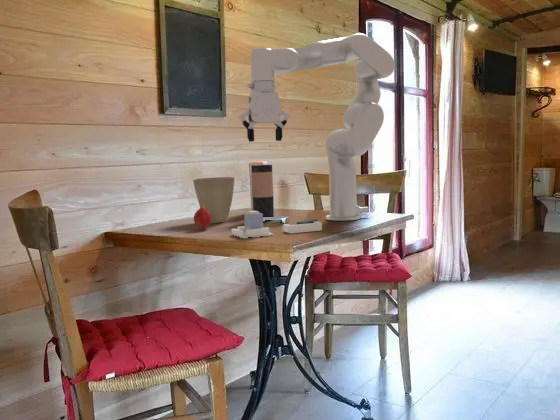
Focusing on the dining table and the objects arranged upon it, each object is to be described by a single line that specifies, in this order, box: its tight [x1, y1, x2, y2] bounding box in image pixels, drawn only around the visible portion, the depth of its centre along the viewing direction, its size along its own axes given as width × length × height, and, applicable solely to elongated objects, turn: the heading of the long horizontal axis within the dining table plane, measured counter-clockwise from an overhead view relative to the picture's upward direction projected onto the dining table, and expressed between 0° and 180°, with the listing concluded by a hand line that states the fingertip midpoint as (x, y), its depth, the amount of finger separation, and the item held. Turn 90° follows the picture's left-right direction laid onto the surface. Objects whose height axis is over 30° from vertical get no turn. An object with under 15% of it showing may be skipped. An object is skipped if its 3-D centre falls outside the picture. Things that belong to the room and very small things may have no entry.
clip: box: [283, 220, 323, 234], centre depth 180 cm, size 11×4×2 cm, turn 114°
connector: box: [243, 210, 264, 233], centre depth 174 cm, size 4×5×7 cm
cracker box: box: [248, 160, 268, 211], centre depth 231 cm, size 14×6×21 cm, turn 174°
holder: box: [231, 225, 274, 239], centre depth 174 cm, size 10×8×2 cm
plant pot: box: [192, 176, 235, 224], centre depth 210 cm, size 15×15×16 cm
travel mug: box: [252, 164, 275, 217], centre depth 210 cm, size 8×8×20 cm
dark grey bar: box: [296, 218, 318, 225], centre depth 183 cm, size 9×3×3 cm, turn 148°
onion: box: [193, 206, 212, 231], centre depth 191 cm, size 6×6×8 cm
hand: (265, 141), depth 189 cm, fingers open, 9 cm apart
